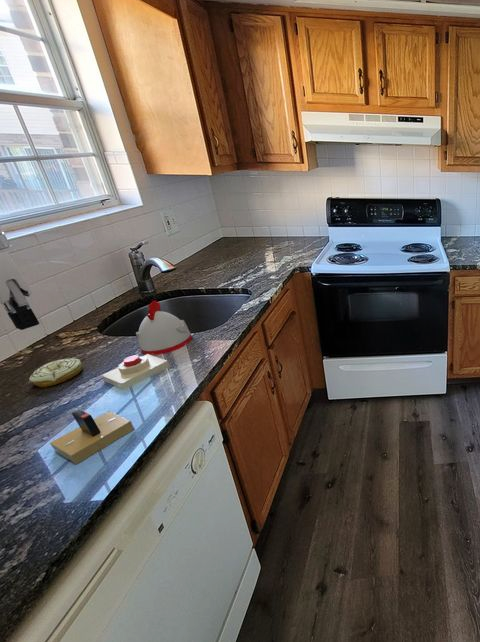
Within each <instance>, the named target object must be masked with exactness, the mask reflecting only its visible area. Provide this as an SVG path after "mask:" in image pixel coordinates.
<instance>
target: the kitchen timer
mask: <svg viewBox="0 0 480 642" xmlns="http://www.w3.org/2000/svg"><path fill="white" fill-rule="evenodd" d="M147 306H148V309H147V312H148V314H146V316H145V317H144V318H143V320H142V321H141V323H140V325H139V328H138V331H136V332H135V335H136V338H137V340H138V346H139V349H140V351H141V354H143V355H146V354H150V355H153V356H159V355H164V354H168V353H172V352H175V351H178V350H179V349H182V348H183V347H186V346H187V345H188V344H189V343H190V342H191V341H192V340H193V336H192V334H191V331H190V330H189V328H188V325H187V323H186V321H185V320H184V319H180V318H179V317H177V316H176V315H173V314H172V313H170V312H166V311H163V310H161V304H160V301H158V302H157V300H152V302H149V304H147Z"/></svg>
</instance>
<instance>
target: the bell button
mask: <svg viewBox="0 0 480 642" xmlns="http://www.w3.org/2000/svg"><path fill="white" fill-rule="evenodd" d="M122 362H124V364H125V366H126V367H130V366H134V365H136V364H139V363H140V362H141V360H140V355H138V354H134V355H130V356H127V357H125V358H124V359H123V360H122Z"/></svg>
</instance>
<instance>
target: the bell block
mask: <svg viewBox="0 0 480 642" xmlns="http://www.w3.org/2000/svg"><path fill="white" fill-rule="evenodd" d="M139 357H140V360H141V362H140V363H139V364H136V365H134V366H130V367H126V366H125V364H124V362H123V361H122V362H121V363H120V364H118V367H116V368H114V369H112V370H110V371H108V372H105V373H103V374H101V378H102V379H103V382H104V383H107V384H109V385H112V386H114V387H116V388H118V389H121V390H124V391H126V390H127V389H130V388H131V387H133V386H135V385H137V384H140V383H141V382H143V381H145V380H147V379H149V378H151V377H153V376H155V375H156V374H159V373H160V372H163V371H164V370H167V369H168V368H170V367H171V365H170V363H169V360H166V359H164V358H161V357H158V356H156V355H150V354H146V355H145V354H143V355H142V356H140V355H139Z"/></svg>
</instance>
